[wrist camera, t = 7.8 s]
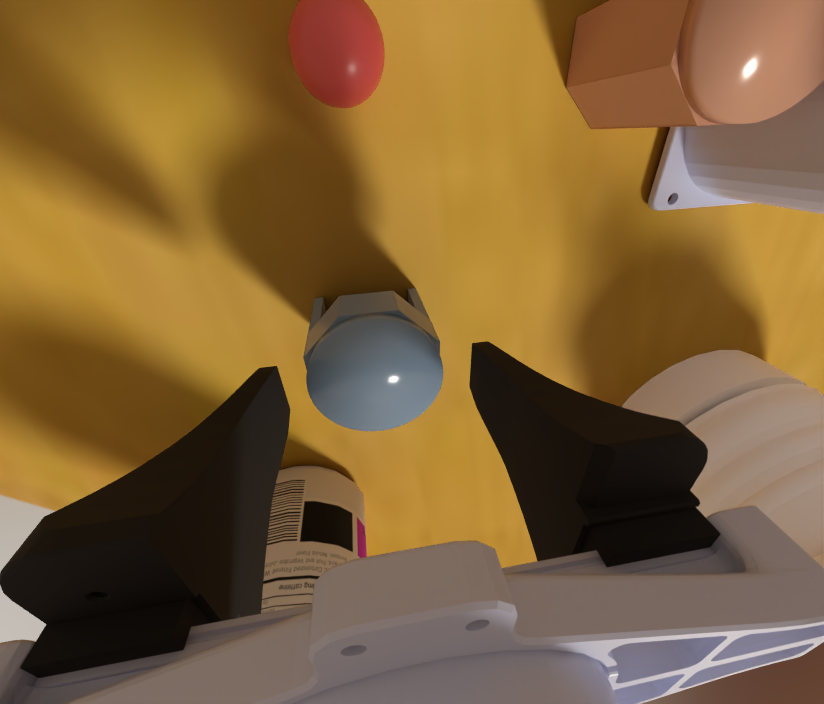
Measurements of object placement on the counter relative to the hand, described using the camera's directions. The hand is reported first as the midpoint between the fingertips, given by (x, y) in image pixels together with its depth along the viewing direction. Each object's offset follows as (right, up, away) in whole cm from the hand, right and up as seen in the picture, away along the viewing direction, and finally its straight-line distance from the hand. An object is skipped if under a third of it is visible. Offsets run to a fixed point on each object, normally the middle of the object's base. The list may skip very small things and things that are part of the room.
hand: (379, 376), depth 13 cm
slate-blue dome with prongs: (-1, +3, +5) cm, 6 cm away
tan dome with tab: (+10, +13, +1) cm, 16 cm away
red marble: (-1, +11, -2) cm, 11 cm away
